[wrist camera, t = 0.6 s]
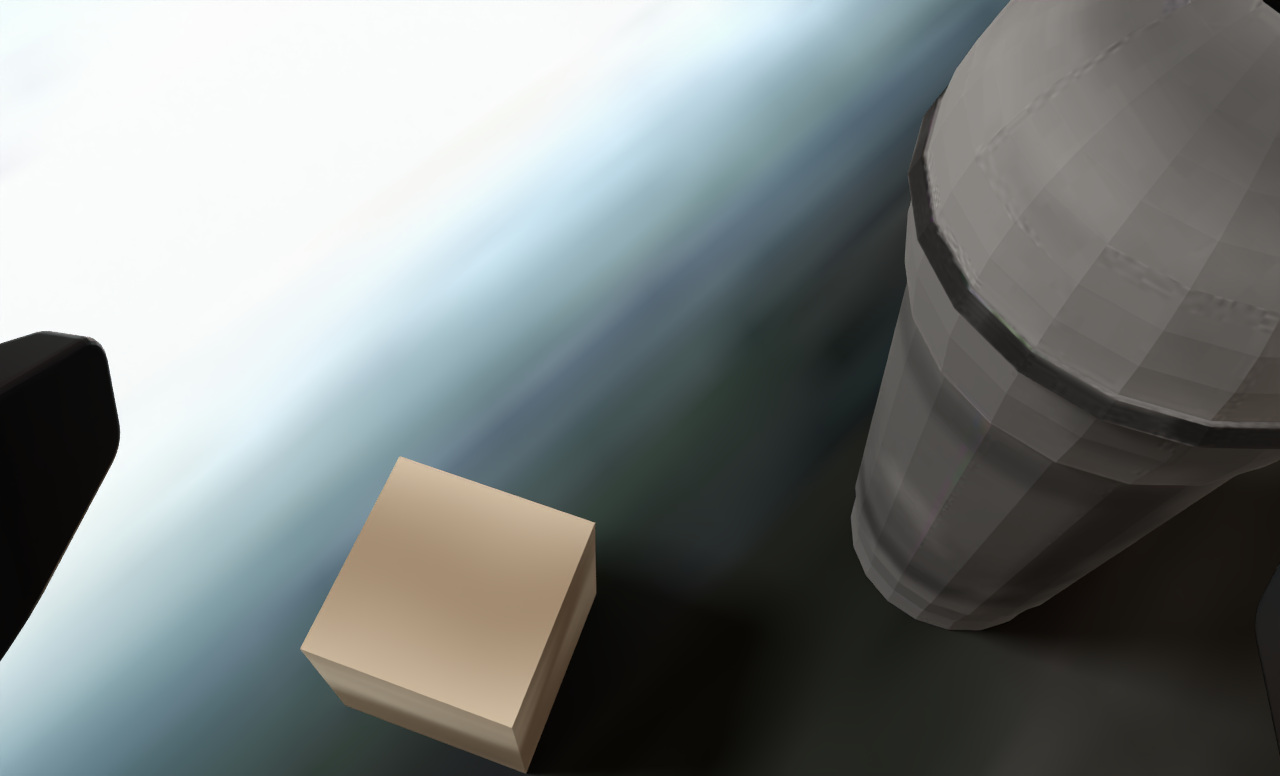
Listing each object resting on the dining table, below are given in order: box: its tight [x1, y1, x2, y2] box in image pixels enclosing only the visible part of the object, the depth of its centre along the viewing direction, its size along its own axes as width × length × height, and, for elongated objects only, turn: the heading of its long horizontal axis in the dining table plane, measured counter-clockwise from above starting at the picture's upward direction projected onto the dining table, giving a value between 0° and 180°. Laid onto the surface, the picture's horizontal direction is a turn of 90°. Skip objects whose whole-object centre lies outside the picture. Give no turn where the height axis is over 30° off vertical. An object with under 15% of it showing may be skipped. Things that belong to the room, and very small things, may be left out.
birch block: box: [300, 457, 596, 773], centre depth 22 cm, size 4×4×4 cm
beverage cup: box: [851, 0, 1280, 630], centre depth 17 cm, size 7×7×20 cm
